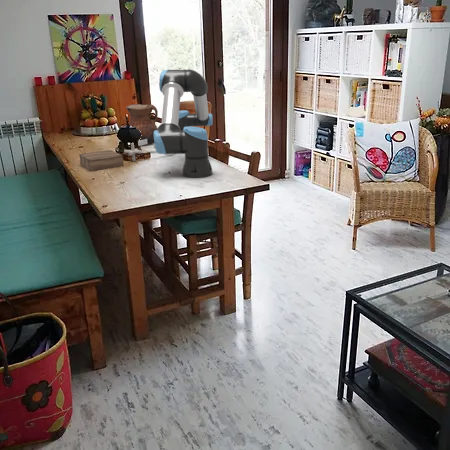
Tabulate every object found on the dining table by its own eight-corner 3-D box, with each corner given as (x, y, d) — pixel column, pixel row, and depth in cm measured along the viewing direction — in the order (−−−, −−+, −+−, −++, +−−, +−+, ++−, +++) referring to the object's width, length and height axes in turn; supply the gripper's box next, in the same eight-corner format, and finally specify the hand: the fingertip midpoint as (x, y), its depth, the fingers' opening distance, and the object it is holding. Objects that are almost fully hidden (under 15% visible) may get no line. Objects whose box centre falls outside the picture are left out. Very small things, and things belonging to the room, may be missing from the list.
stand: (123, 166, 254) (122, 155, 252) (91, 171, 245) (89, 160, 243) (111, 160, 268) (110, 149, 266) (80, 164, 259) (79, 154, 257)
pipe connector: (139, 162, 260) (137, 145, 257) (122, 162, 262) (120, 144, 259) (145, 158, 270) (143, 141, 266) (129, 158, 271) (127, 141, 268)
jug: (135, 148, 297) (131, 108, 288) (120, 143, 312) (116, 105, 303) (165, 143, 310) (162, 105, 301) (148, 139, 325) (145, 102, 316)
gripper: (187, 147, 279) (161, 154, 264) (159, 142, 294) (133, 148, 279) (186, 134, 276) (160, 140, 261) (158, 130, 291) (131, 136, 277)
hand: (146, 144), depth 270 cm, fingers open, 13 cm apart
